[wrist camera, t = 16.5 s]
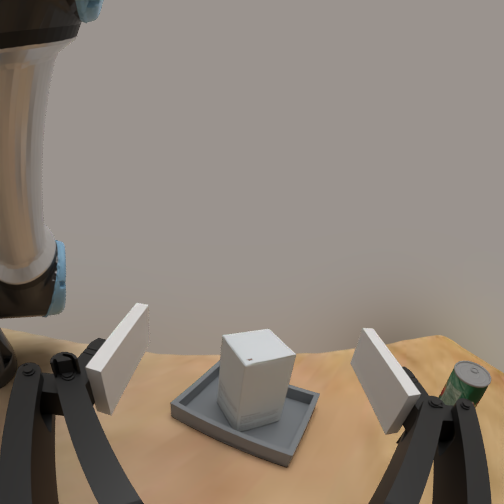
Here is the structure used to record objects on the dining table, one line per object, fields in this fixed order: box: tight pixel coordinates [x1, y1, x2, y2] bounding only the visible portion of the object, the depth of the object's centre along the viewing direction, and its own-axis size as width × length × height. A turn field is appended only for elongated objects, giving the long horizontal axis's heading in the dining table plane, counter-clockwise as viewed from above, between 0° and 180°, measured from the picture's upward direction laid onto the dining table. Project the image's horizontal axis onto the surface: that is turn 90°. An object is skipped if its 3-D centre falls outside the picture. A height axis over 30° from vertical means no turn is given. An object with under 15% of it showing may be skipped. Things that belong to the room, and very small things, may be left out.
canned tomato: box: [438, 361, 491, 407], centre depth 32 cm, size 8×8×11 cm
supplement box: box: [217, 329, 296, 432], centre depth 36 cm, size 7×7×13 cm
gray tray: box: [171, 360, 320, 467], centre depth 37 cm, size 18×14×3 cm
